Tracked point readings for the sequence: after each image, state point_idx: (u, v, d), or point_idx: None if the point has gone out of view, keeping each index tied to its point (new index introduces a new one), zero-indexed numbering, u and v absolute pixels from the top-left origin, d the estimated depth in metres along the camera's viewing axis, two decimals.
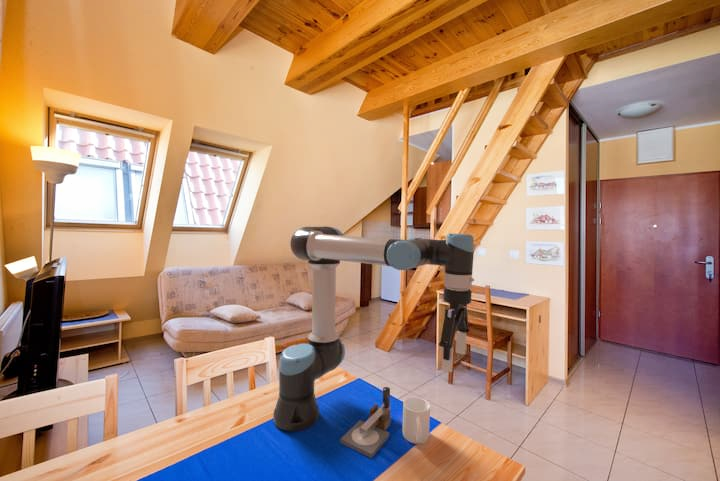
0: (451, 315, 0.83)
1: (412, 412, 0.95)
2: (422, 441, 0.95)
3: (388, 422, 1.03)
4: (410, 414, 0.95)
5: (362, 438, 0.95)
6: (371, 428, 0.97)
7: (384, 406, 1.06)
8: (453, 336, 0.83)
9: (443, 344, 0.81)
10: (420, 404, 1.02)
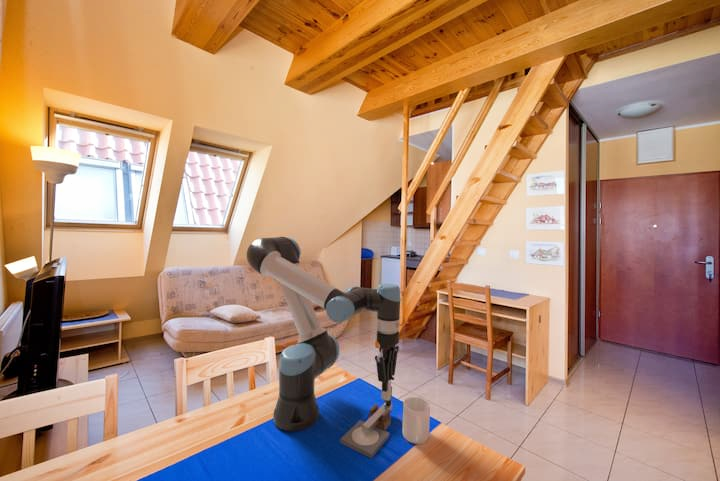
0: (380, 361, 1.01)
1: (412, 412, 0.95)
2: (422, 441, 0.95)
3: (388, 422, 1.03)
4: (410, 414, 0.95)
5: (362, 438, 0.95)
6: (373, 426, 0.98)
7: (386, 404, 1.07)
8: (387, 373, 1.04)
9: (380, 380, 1.03)
10: (420, 404, 1.02)
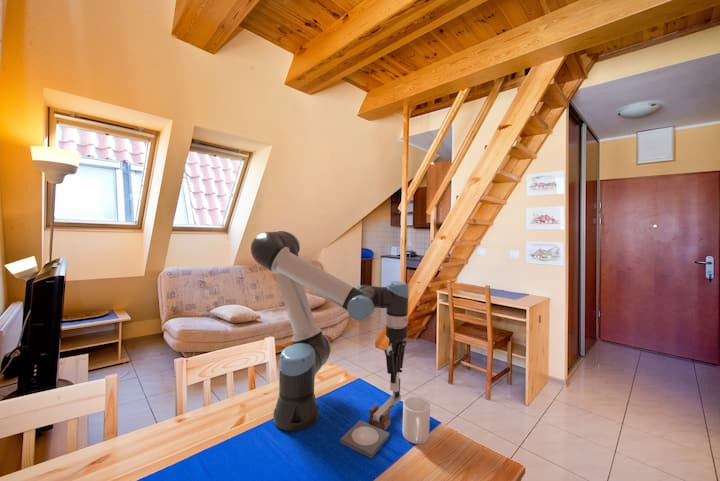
0: (389, 355, 1.07)
1: (412, 412, 0.95)
2: (422, 441, 0.95)
3: (388, 422, 1.03)
4: (410, 414, 0.95)
5: (362, 438, 0.95)
6: None
7: (395, 395, 1.13)
8: (396, 366, 1.10)
9: (389, 373, 1.09)
10: (420, 404, 1.02)
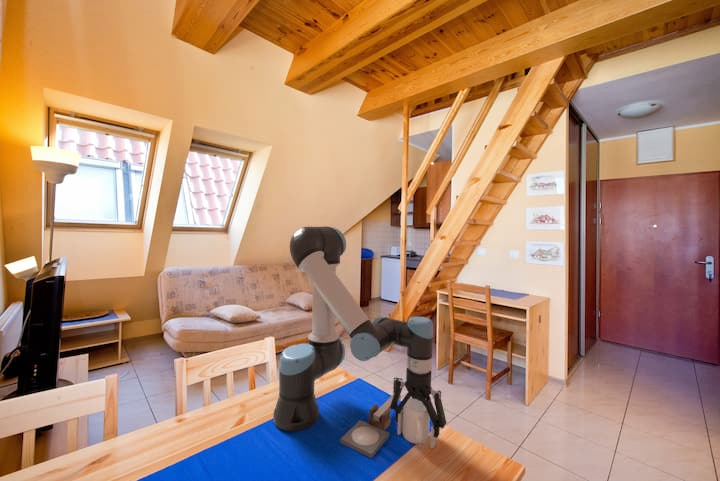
0: None
1: (412, 412, 0.95)
2: (422, 441, 0.95)
3: (388, 422, 1.03)
4: (410, 414, 0.95)
5: (362, 438, 0.95)
6: None
7: None
8: (400, 404, 0.98)
9: None
10: (420, 404, 1.02)
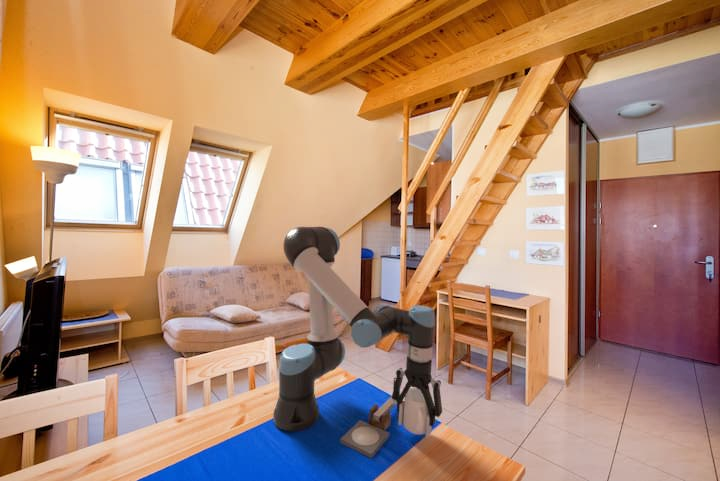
0: None
1: (414, 402, 0.94)
2: (423, 432, 0.95)
3: (388, 422, 1.03)
4: (412, 405, 0.94)
5: (362, 438, 0.95)
6: None
7: None
8: (401, 394, 0.98)
9: None
10: (422, 395, 1.01)
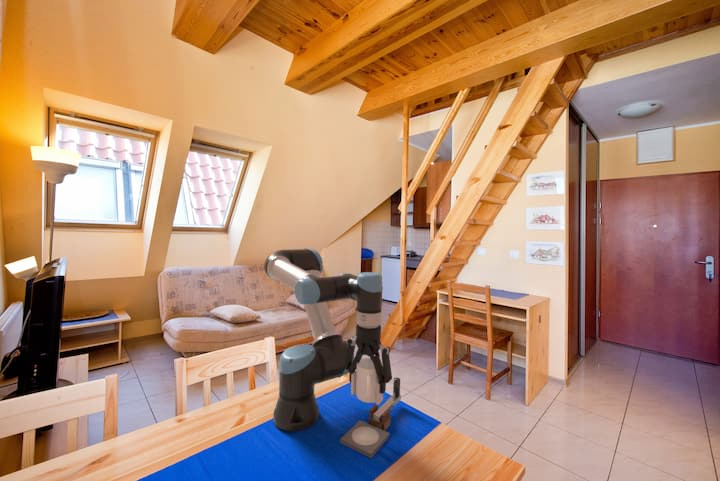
0: None
1: (363, 370, 0.93)
2: (374, 400, 0.93)
3: (388, 422, 1.03)
4: (362, 372, 0.93)
5: (362, 438, 0.95)
6: None
7: (395, 395, 1.13)
8: (352, 363, 0.96)
9: None
10: None
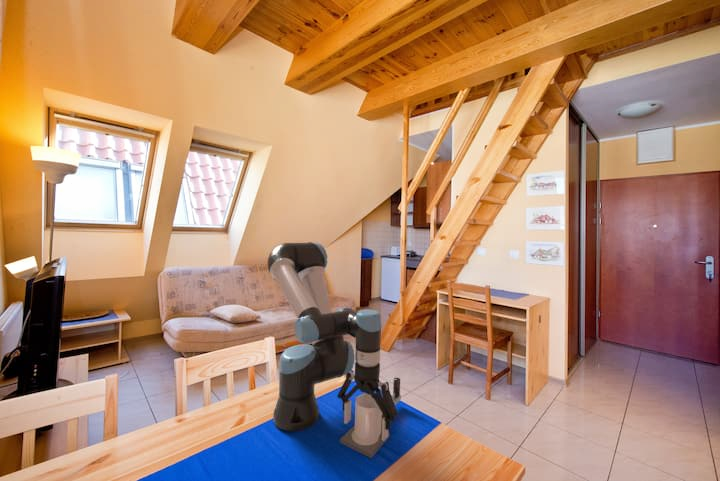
0: None
1: (362, 408, 0.93)
2: (372, 438, 0.94)
3: None
4: (360, 411, 0.94)
5: None
6: None
7: (395, 395, 1.13)
8: (347, 395, 0.98)
9: None
10: (374, 401, 1.00)
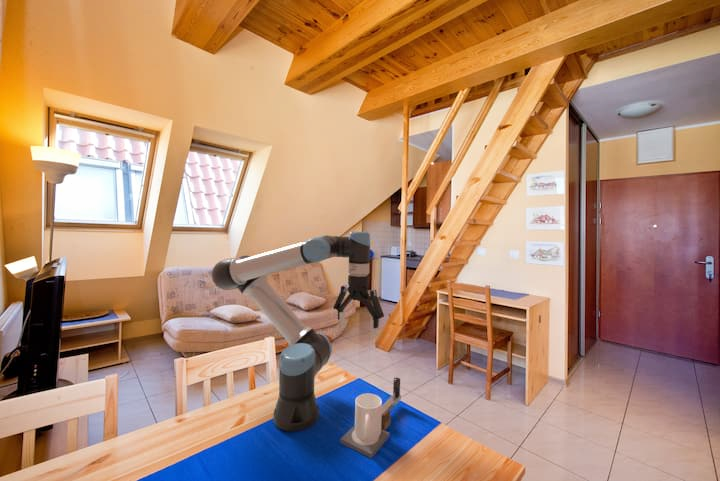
0: None
1: (362, 408, 0.93)
2: (372, 438, 0.94)
3: (388, 422, 1.03)
4: (360, 411, 0.94)
5: None
6: None
7: (395, 395, 1.13)
8: (341, 304, 1.15)
9: None
10: (374, 401, 1.00)
